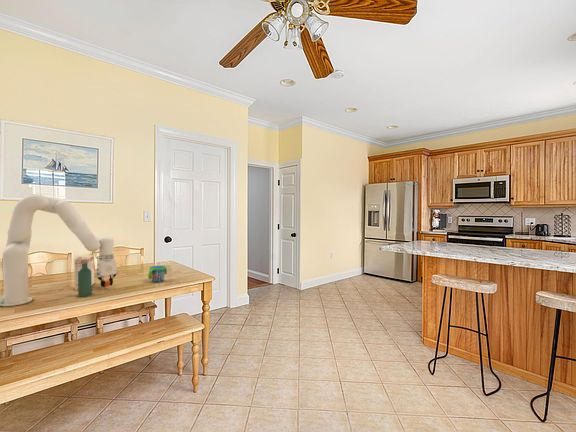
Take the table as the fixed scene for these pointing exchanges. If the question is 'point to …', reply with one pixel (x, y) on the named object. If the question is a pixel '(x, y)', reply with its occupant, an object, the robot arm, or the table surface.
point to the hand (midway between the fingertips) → (106, 285)
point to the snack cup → (157, 273)
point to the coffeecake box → (78, 266)
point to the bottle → (84, 281)
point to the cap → (107, 283)
